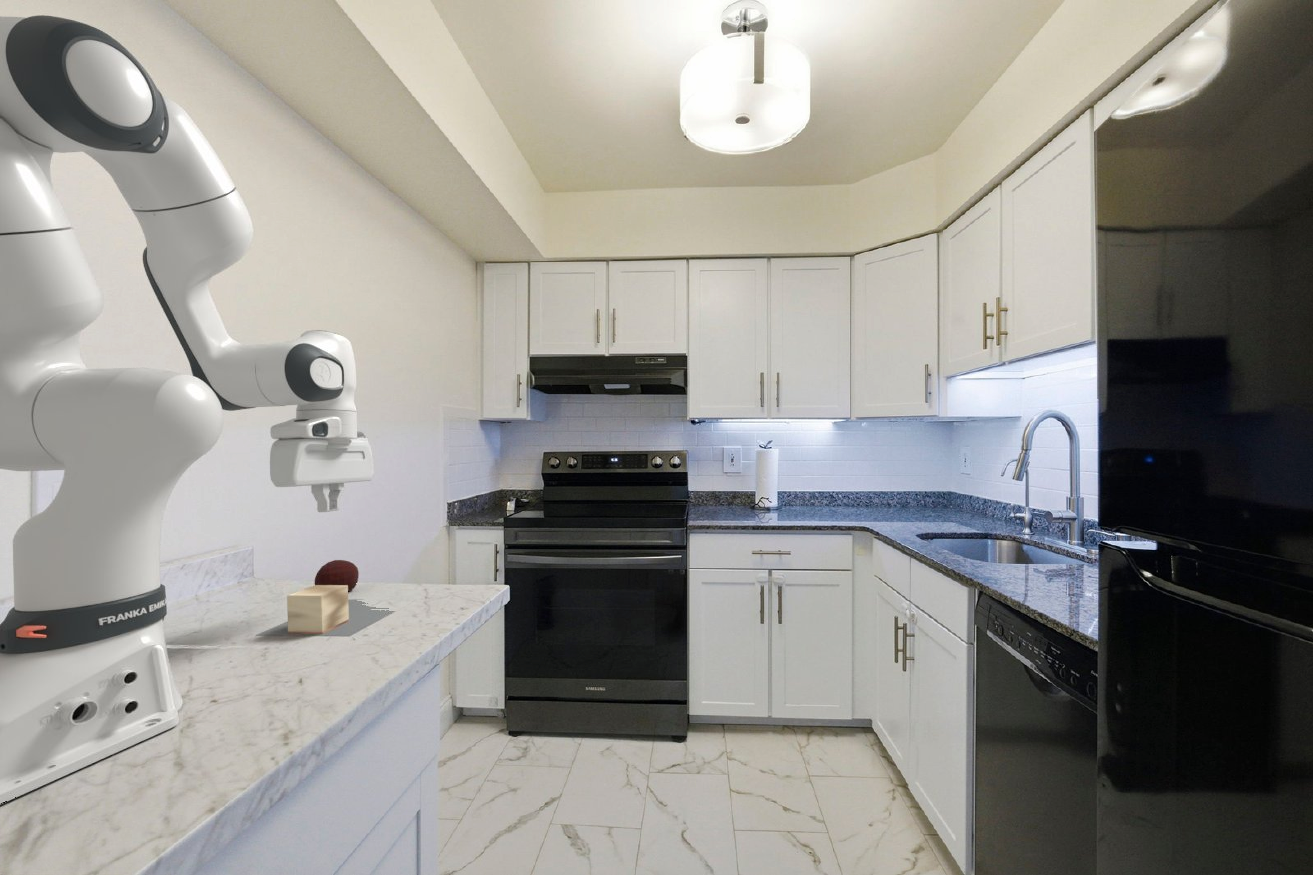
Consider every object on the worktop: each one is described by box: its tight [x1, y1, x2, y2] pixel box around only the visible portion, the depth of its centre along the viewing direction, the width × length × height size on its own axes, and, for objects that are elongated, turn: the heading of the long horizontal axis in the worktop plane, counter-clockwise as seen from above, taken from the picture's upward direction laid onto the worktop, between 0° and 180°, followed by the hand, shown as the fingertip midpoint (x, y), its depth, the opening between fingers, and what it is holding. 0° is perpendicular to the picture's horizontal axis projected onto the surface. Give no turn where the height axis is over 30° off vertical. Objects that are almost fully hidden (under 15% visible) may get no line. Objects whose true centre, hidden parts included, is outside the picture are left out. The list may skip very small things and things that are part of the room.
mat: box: [255, 599, 395, 637], centre depth 94 cm, size 19×16×1 cm
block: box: [286, 584, 349, 634], centre depth 89 cm, size 6×6×6 cm
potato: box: [314, 559, 360, 592], centre depth 110 cm, size 7×8×7 cm
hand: (328, 511), depth 91 cm, fingers closed
